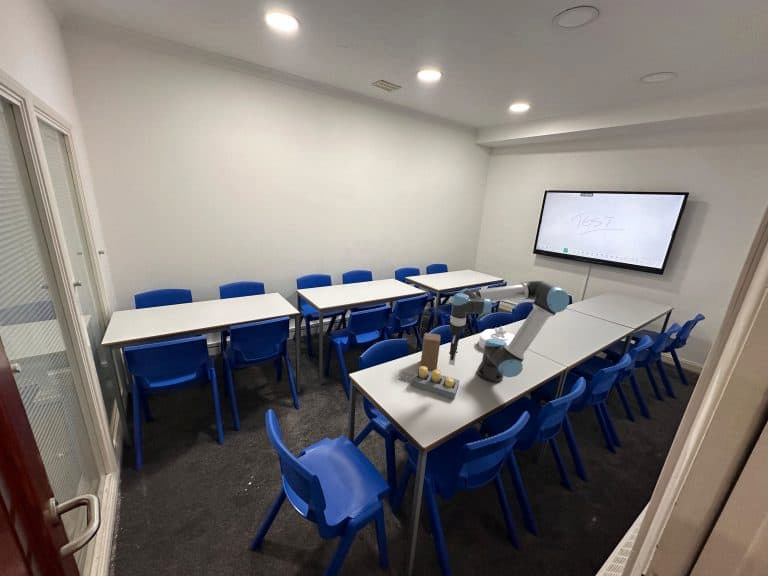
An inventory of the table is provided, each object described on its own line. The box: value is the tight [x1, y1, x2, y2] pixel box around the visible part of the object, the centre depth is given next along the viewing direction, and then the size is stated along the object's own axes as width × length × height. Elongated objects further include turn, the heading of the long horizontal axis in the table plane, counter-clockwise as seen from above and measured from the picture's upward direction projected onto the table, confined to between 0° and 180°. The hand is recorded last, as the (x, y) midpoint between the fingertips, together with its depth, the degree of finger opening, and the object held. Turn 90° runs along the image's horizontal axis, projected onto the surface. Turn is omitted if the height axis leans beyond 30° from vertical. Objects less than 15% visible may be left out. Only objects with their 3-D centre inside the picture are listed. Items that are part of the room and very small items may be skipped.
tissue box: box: [478, 325, 516, 350], centre depth 216 cm, size 25×25×16 cm
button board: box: [410, 368, 460, 400], centre depth 166 cm, size 24×13×4 cm, turn 66°
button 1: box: [445, 376, 455, 388], centre depth 163 cm, size 5×5×5 cm
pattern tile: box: [399, 372, 415, 384], centre depth 173 cm, size 7×7×1 cm
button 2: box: [431, 369, 442, 382], centre depth 165 cm, size 5×5×5 cm
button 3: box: [418, 366, 429, 378], centre depth 167 cm, size 5×5×5 cm
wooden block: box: [419, 332, 441, 371], centre depth 184 cm, size 10×10×20 cm
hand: (451, 364), depth 159 cm, fingers closed
